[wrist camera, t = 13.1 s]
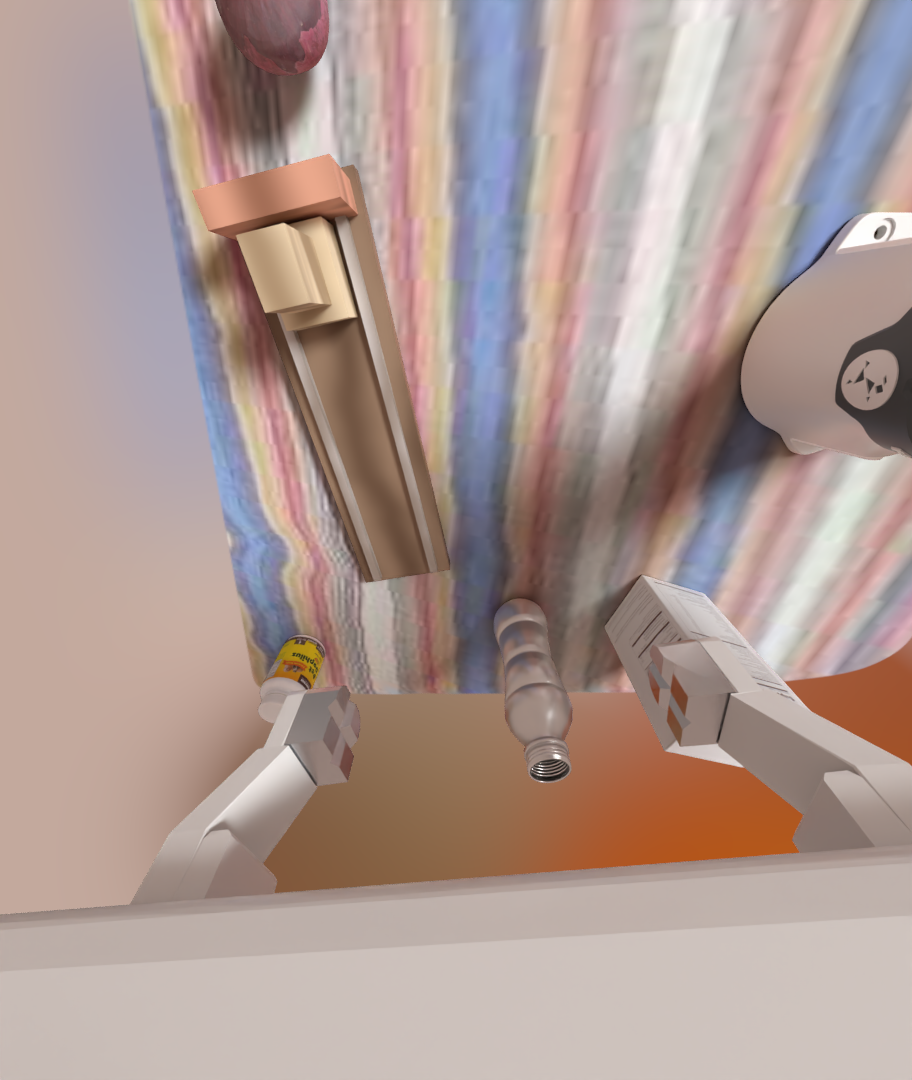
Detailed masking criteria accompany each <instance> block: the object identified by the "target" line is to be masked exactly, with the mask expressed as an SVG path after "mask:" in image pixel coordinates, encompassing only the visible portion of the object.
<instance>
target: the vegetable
mask: <svg viewBox="0 0 912 1080" xmlns="http://www.w3.org/2000/svg"><path fill="white" fill-rule="evenodd" d="M215 1H216V5H217V8H218V11H219V13H220V16H221V18H222V20H223V23H224V25H225V27H226V30H227V32H228V34H229V35H230V37H231V39H232V40H233V42H234V43H235V45H236V46H237V48H238V49H239V50H240V51H241V53H242V54H243V55H244V56H245V57H246V58H247V59H249V60H250V61H251V62H252V63H254V64H255V65H256V66H258V67H259V68H261V69H263V70H265V71H266V72H269V73H272V74H276V75H281V76H286V75H296V74H300V73H303V72H305V71H308V70H310V69H311V68H313V67H314V66H315V65H316V64H317V63H318V62H319V61H320V59H321V58H322V56H323V53H324V51H325V49H326V46H327V42H328V33H329V15H328V5H327V0H215Z"/></svg>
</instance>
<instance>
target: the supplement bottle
mask: <svg viewBox="0 0 912 1080" xmlns="http://www.w3.org/2000/svg"><path fill="white" fill-rule="evenodd" d="M324 657H325V648H324V646H323V644H322V643H321V642H320V641H319V640H317V639H316V638H314V637H311V636H308V635H295V636H293V637H291V638H289V639H288V640H287V641H286V642H285V644H284V645H283V647H282V649H281V651H280V653H279V655H278V656H277V658H276V660H275V662H274V664H273V666H272V668H271V669H270V671H269V673H268V675H267V677H266V679H265V680H264V682H263V684H262V686H261V689H260V697H261V699H262V700H261V703H260V706H259V708H258V713H259V715H260V716H261V718H263V719H264V720H266V721H267V722H270V723H273V724H274V723H275V721H276V719H277V717H278V715H279V712H280V710H281V708H282V706H283V704H284V701H285V699H286V697H287V696H288V695H289V694H290V693H291V692H292V691H299V690H308V689H312V688H313V685H314V683H315V680H316V678H317V675H318V673H319V670H320V667H321V665H322V662H323V660H324Z"/></svg>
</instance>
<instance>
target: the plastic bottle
mask: <svg viewBox="0 0 912 1080" xmlns="http://www.w3.org/2000/svg"><path fill="white" fill-rule="evenodd" d="M494 633H495V636H496V639H497V642H498V644H499V646H500V650H501V654H502V659H503V663H504V671H505V719H506V722H507V724H508V726H509V728H510V731H511V732H512V733H513V734H514V736H515V737H516V738H517V739H518V740H519V741H520V742H521V743H522V744H523V745H524V746H525V748H524V756H525V760H526V762H527V769H528V773H529V776H530V777H531V778H532V779H533V780H535V781H537V782H542V783H552V782H557V781H560V780H562V779H564V778H566V777H567V776H568V775H569V774H570V772H571V763H570V759H569V750H568V746H567V744H566V742H565V741H564V740H565V738H566V736H567V734H568V732H569V729H570V726H571V723H572V711H573V710H572V704H571V702H570V699H569V697H568V695H567V692H566V690H565V688H564V686H563V684H562V682H561V680H560V678H559V676H558V673H557V671H556V668H555V665H554V663H553V659H552V656H551V652H550V647H549V641H548V626H547V620H546V617H545V615H544V613H543V611H542V610H541V608H540V607H539V606H538V605H537V604H536V603H535V602H533V601H530V600H527V599H522V598H518V599H513V600H510V601H508V602H506V603H505V604H503V605H502V606H501V607H500V608H499V609H498V611H497V612H496V615H495V619H494Z"/></svg>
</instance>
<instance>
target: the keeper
mask: <svg viewBox="0 0 912 1080" xmlns="http://www.w3.org/2000/svg"><path fill="white" fill-rule="evenodd" d="M236 237H237V240H238V242H239V245H240V248H241V250H242V253H243V256H244V258H245V261H246V264H247V266H248V269H249V272H250V274H251V277H252V280H253V282H254V285H255V288H256V290H257V293H258V296H259V298H260V301H261V304H262V306H263V309H264V311H265V313H280V314H281V317H282V320H283V322H284V325H285V328H286V331H295V330H303V329H307V328H312V327H316V326H321V325H325V324H330V323H334V322H339V321H343V320H348V319H352V318H356V317H358V315H357V311H356V308H355V304H354V300H353V297H352V293H351V289H350V286H349V282H348V278H347V275H346V271H345V267H344V264H343V260H342V256H341V253H340V249H339V245H338V242H337V238H336V234H335V231H334V227H333V225H332V224H330V223H329V222H328V221H326V220H325V219H323V218H322V217H321V216H320V217H316V218H312V219H308V220H304V221H300V222H297V223H293V224H289V225H287V224H285V223H282V224H278V225H274V226H270V227H266V228H262V229H258V230H254V231H250V232H246V233H242V234H238V235H236Z"/></svg>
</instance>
